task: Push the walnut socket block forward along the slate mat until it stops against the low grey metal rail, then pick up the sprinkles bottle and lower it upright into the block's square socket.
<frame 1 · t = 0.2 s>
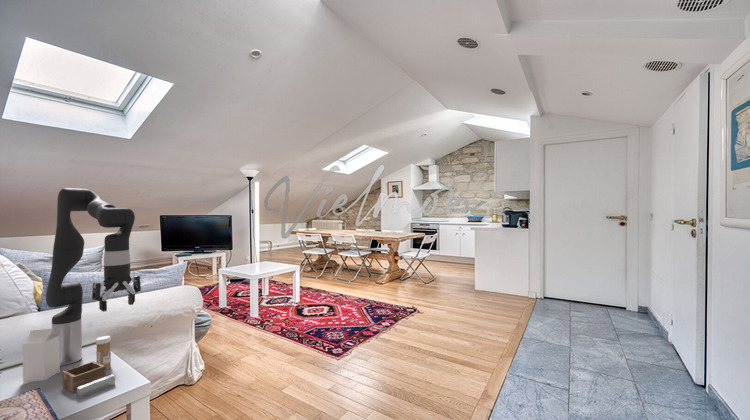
hand: (117, 307, 119), 28 cm above the table, fingers open, 8 cm apart
sprinkles bottle: (103, 371, 130), on the table
milk carton: (42, 379, 125), on the table
slate mat: (84, 387, 119), on the table
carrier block: (84, 376, 119), point 4 cm above the table, slide at 0.0 cm
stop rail: (96, 391, 114), resting on slate mat
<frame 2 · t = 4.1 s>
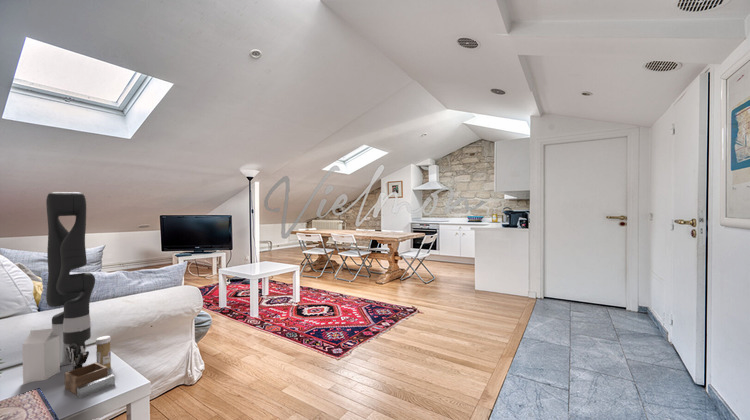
hand: (77, 374, 121), 3 cm above the table, fingers closed
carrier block: (86, 377, 118), point 4 cm above the table, slide at 1.9 cm, touching gripper
everything else where it was.
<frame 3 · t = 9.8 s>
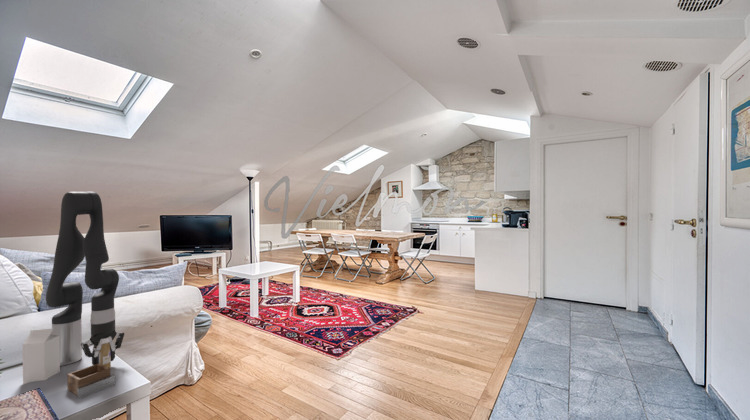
hand: (103, 362, 130), 3 cm above the table, fingers closed on sprinkles bottle, 4 cm apart
sprinkles bottle: (103, 371, 130), on the table, touching gripper
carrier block: (89, 378, 117), point 4 cm above the table, slide at 4.0 cm, touching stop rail
everything else where it was.
when the fingers open (7 cm above the table, at t = 14.8 s): sprinkles bottle drops 2 cm, resting on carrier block.
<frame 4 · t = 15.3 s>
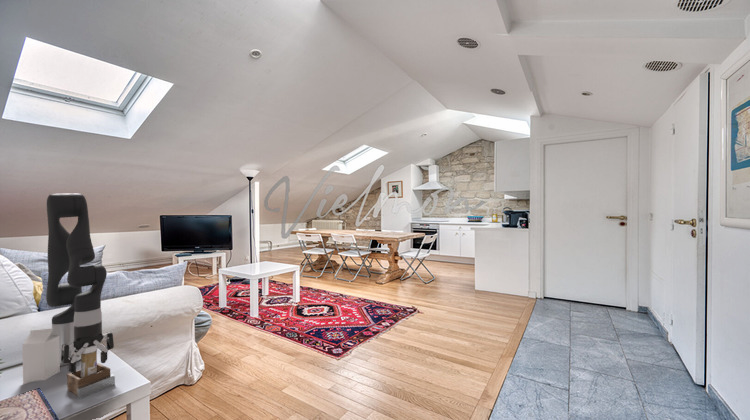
hand: (88, 367, 117), 8 cm above the table, fingers open, 8 cm apart
sprinkles bottle: (88, 384, 117), point 2 cm above the table, touching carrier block
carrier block: (89, 378, 117), point 4 cm above the table, slide at 4.0 cm, touching sprinkles bottle, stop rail
everything else where it was.
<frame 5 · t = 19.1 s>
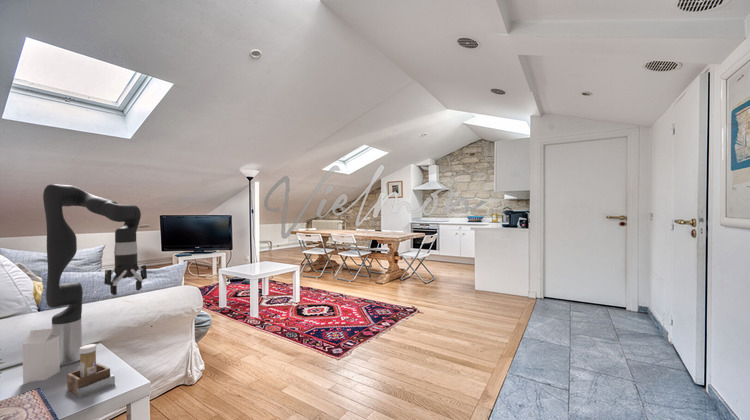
hand: (126, 292, 135), 30 cm above the table, fingers open, 8 cm apart
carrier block: (89, 378, 117), point 4 cm above the table, slide at 3.8 cm, touching sprinkles bottle
everything else where it was.
at the end: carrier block slide at 3.8 cm; sprinkles bottle 0.2 cm off-centre on the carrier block, point 0.8 cm above the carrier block's base; sprinkles bottle tilted 0° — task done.
